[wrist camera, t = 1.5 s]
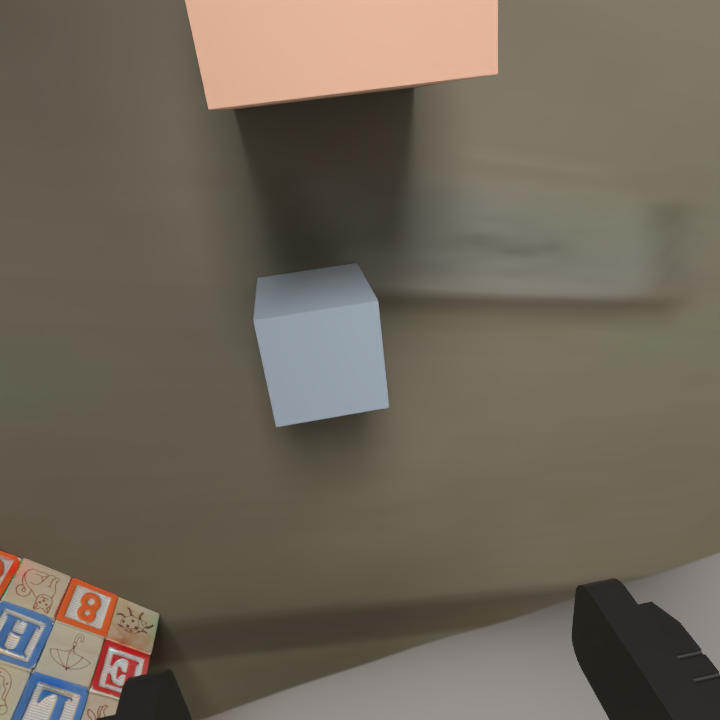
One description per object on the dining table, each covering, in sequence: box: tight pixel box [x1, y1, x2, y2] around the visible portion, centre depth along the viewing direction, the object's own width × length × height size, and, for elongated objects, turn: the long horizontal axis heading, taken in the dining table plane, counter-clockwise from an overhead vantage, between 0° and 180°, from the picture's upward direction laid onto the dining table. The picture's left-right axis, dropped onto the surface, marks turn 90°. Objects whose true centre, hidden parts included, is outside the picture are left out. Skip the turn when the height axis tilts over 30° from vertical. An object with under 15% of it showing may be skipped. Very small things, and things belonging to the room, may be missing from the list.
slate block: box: [253, 263, 389, 427], centre depth 25 cm, size 5×5×6 cm
